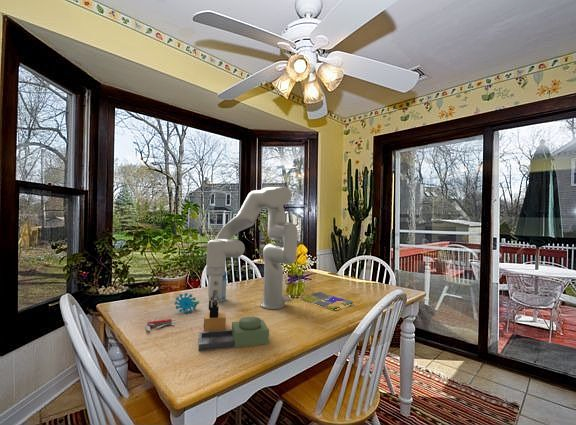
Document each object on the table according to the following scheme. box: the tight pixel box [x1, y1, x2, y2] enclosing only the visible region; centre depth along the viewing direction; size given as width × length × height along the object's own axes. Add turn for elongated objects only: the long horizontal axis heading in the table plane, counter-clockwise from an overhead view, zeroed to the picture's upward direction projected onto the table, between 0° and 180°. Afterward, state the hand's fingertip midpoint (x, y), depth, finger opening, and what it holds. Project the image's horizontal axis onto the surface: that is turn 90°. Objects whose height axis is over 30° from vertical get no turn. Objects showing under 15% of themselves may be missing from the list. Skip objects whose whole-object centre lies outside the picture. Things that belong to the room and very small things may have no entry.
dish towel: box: [301, 291, 354, 311], centre depth 155 cm, size 18×24×3 cm
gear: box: [174, 292, 200, 315], centre depth 135 cm, size 11×6×10 cm
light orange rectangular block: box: [203, 311, 227, 332], centre depth 116 cm, size 8×6×5 cm
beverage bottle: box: [218, 264, 228, 303], centre depth 153 cm, size 8×8×20 cm
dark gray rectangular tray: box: [197, 329, 236, 352], centre depth 103 cm, size 12×10×2 cm
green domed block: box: [231, 316, 270, 348], centre depth 107 cm, size 12×10×7 cm
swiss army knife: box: [146, 317, 177, 332], centre depth 117 cm, size 12×14×2 cm
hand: (213, 313), depth 116 cm, fingers open, 9 cm apart
